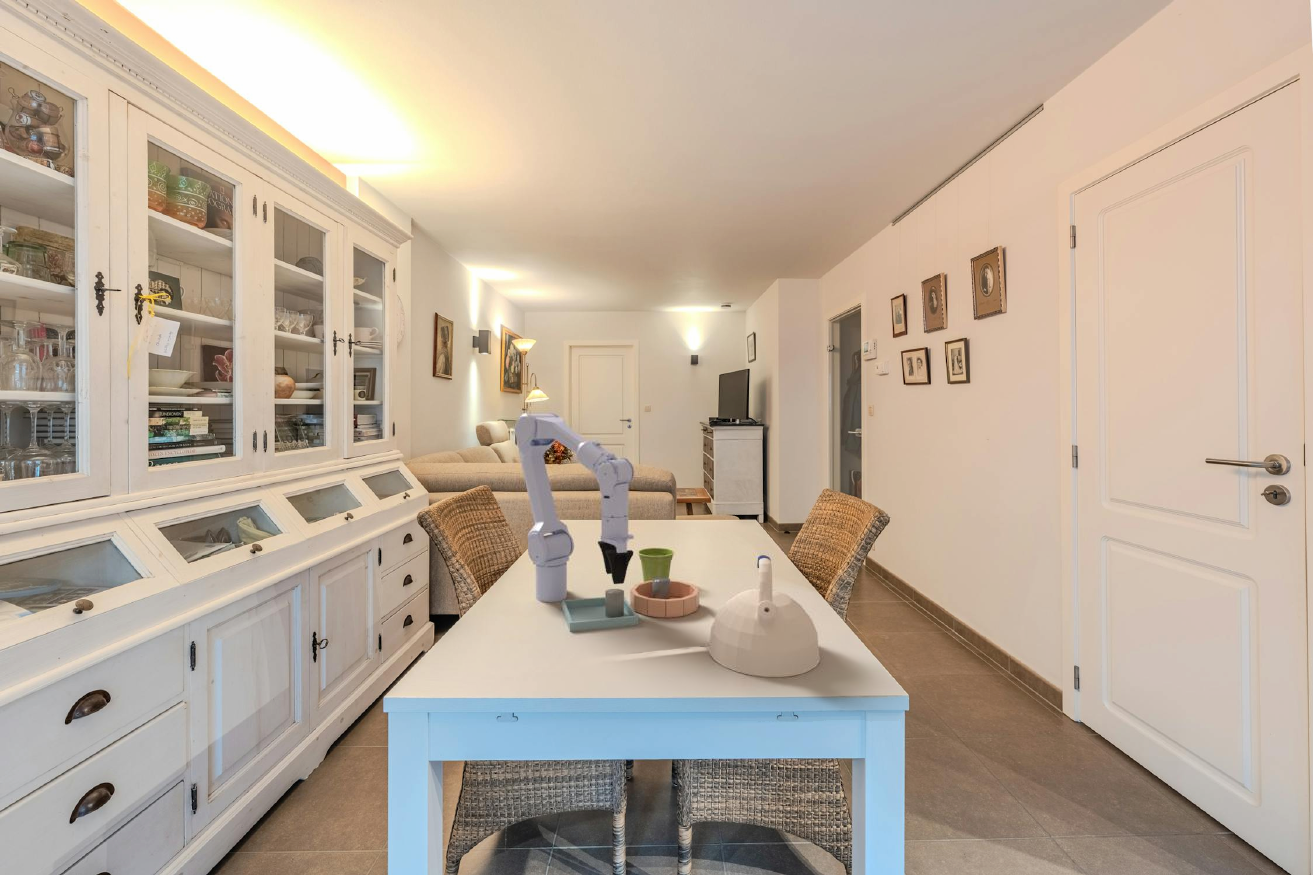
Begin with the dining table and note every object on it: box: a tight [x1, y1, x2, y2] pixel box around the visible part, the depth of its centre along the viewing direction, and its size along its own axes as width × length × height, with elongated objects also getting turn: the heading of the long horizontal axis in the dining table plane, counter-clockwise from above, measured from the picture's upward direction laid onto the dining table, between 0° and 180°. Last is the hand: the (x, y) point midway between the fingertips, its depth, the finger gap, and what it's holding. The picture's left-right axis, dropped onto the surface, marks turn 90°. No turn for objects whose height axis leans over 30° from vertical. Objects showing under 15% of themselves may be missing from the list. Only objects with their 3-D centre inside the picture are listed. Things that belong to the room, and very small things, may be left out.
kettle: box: [708, 555, 821, 678], centre depth 106 cm, size 20×21×18 cm
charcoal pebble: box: [653, 577, 671, 599], centre depth 132 cm, size 4×4×5 cm
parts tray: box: [561, 596, 639, 633], centre depth 122 cm, size 14×14×2 cm
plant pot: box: [637, 547, 675, 582], centre depth 147 cm, size 9×9×9 cm
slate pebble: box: [604, 588, 625, 618], centre depth 123 cm, size 4×4×5 cm
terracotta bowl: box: [629, 579, 700, 619], centre depth 129 cm, size 15×15×4 cm
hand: (614, 578), depth 123 cm, fingers open, 7 cm apart
